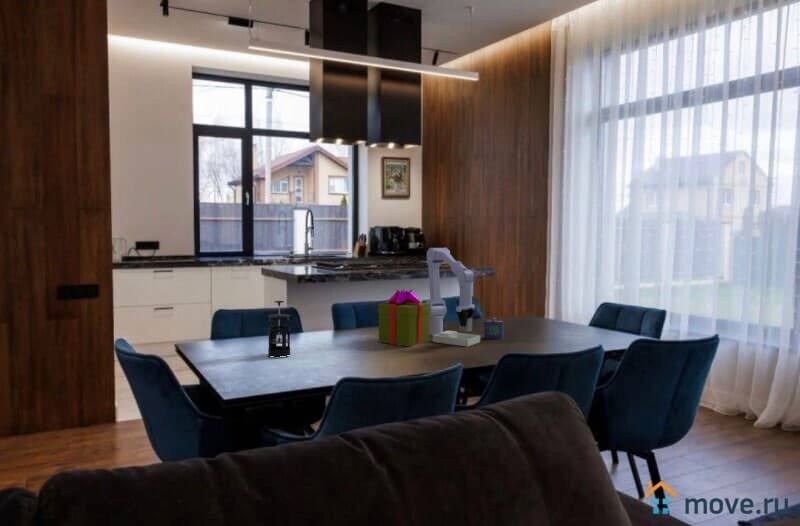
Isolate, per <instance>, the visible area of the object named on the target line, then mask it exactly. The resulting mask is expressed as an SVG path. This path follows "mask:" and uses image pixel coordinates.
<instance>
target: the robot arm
mask: <svg viewBox="0 0 800 526" xmlns="http://www.w3.org/2000/svg"><path fill="white" fill-rule="evenodd" d="M426 264H427V266H428V280H429V281H428V283H429V299H428V300H427V301H426V302H425V303H430V316H429V336H431V337H433V335H436V334H439V333H441V332H444V330H443V329H444V323H443V322H444V318H445V317H446V315H447V311H448V310H447V306H446V301H445V300H444V299H442V298H441V296H442V295H441V282H440V280H441V279H440V267H441V265H443V264H447V265H448V266H450V271H451V272H452V273H453V274H454V275H455V276H456V277H457V282H458V286H459V305H458V306H456V307H455V308H456V309H455V313H456V315H457V318H458V320H459V321H460V326H465V325H466V318H467V317H474V314H475V312H476V309H475V307H476V306H475V304H474V303H473V282H474V281H475V280H476V275H475V272H474V271H473V270H472V269H468V267H466V266H464V265H463V264H462V261H458V260H455V259H454V257H453V255H451V251H450V249H449V248H448V247H430V248H428V250H427V252H426Z"/></svg>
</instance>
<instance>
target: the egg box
mask: <svg viewBox="0 0 800 526" xmlns="http://www.w3.org/2000/svg"><path fill="white" fill-rule="evenodd" d="M457 333H458V331H455V330H444V331H443V332H441V333H439V336H444V337H452V338H457Z"/></svg>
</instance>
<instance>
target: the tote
mask: <svg viewBox="0 0 800 526" xmlns="http://www.w3.org/2000/svg"><path fill="white" fill-rule="evenodd" d="M481 338H482V337H481V335H478V334H473V333H472V334H471V333H464V332H457V338H452V337H444V336H439V334H436V335H433V336H432V343H437V344H438V343H440V344H446V345H454V346H461V347H469V346H473V345H475V344H478V343H481Z"/></svg>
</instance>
